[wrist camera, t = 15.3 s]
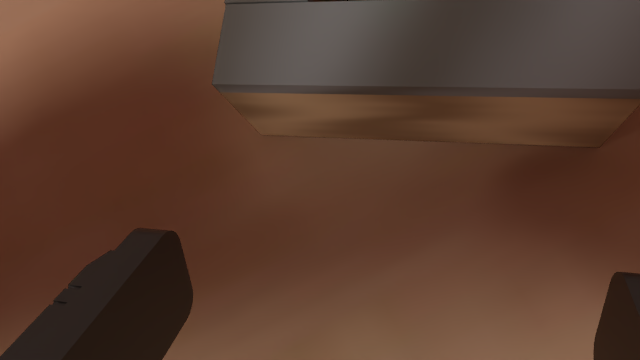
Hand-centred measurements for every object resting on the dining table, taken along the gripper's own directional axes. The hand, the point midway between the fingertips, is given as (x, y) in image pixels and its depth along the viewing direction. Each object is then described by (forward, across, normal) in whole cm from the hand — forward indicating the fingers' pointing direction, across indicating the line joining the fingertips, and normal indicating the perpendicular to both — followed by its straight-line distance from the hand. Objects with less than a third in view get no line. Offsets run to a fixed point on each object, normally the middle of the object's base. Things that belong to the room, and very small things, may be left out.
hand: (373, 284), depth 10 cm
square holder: (+14, 0, -3) cm, 14 cm away
